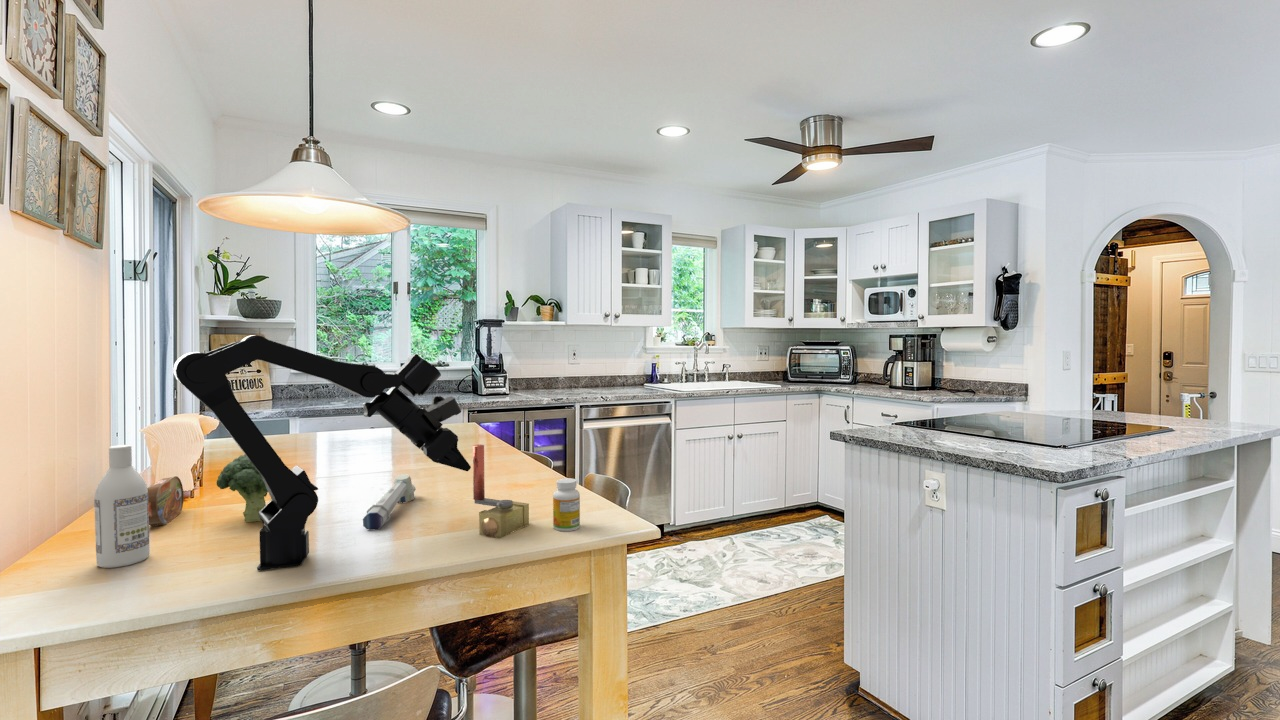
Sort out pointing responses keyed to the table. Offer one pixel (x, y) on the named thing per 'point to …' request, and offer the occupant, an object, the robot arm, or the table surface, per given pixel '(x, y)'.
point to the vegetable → (245, 485)
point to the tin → (165, 500)
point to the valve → (503, 520)
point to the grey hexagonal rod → (389, 502)
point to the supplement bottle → (566, 505)
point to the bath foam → (121, 512)
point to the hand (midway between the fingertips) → (463, 464)
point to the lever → (479, 481)
